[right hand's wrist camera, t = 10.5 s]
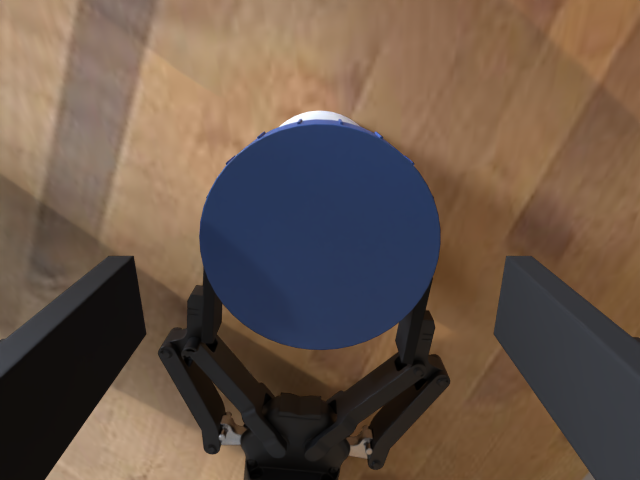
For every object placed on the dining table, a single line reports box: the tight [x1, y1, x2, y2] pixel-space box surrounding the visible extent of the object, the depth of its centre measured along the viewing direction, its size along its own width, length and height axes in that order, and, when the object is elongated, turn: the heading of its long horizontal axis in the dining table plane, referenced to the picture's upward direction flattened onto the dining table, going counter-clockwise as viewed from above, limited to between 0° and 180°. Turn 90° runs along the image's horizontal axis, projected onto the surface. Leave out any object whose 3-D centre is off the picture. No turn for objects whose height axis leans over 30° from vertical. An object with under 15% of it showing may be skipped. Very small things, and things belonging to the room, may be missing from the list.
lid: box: [199, 119, 440, 350], centre depth 18 cm, size 10×10×2 cm
